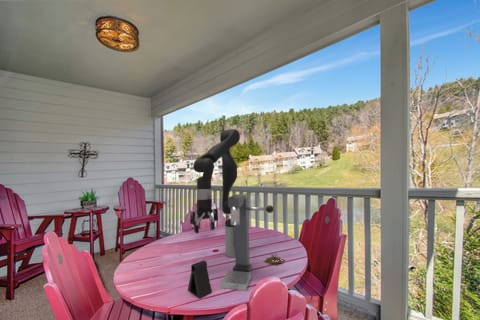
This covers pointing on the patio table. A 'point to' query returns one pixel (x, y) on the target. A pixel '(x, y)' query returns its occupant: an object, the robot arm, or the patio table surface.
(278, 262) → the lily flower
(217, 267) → the patio table surface
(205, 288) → the phone stand
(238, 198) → the arbor press
